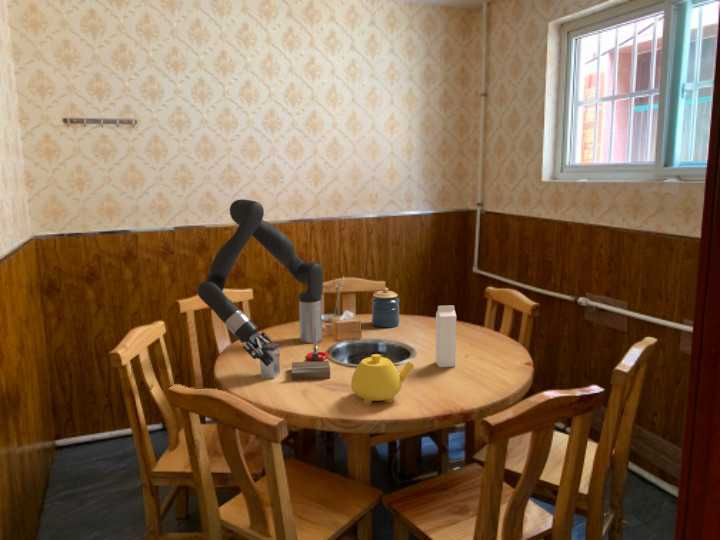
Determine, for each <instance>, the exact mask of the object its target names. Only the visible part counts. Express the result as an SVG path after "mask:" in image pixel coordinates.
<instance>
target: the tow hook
mask: <svg viewBox="0 0 720 540" xmlns="http://www.w3.org/2000/svg"><path fill="white" fill-rule="evenodd" d="M312 349H313V350H312V351H311V352H309V353H307V354H306V361H312V362H315V361H325V359H328V358H329V357H330V354H329V353H328V352H326V351H325V352H324V351H318V350H319V347H318V342H317V332H316V327H314V343H313V347H312ZM319 355H320V356H319Z"/></svg>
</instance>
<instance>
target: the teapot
mask: <svg viewBox="0 0 720 540" xmlns="http://www.w3.org/2000/svg"><path fill="white" fill-rule="evenodd" d="M394 364H395V363H393V362H392V361H391V360H390V359H389V358H387V357H384V356H382V355H381V354H378V353H375V354H373V353H372V354H371V355H370V356H369V357H365V358H363V359H362V360H361V361H360V362H359V363H358V365H357V367H356V368H355V371H354V372H353V374H352V378H351V383H350V387H351V390H352V391H353V393H354V394H355V395H356V396H357V397H359V398H361V399H362V400H363V402H362V404H363V403H364V404H363V405H371V404H373V401H377V402H378V401H384V403H387V404H391V403H394V402H393V401H394V399H393V398H394V397H395V396H397V394H399V392H400V391H401V388H402V383H403V382H404V380H405V379H406V378H407V376H408V375H409V374H410V373H411V371H413V369H414V368H415V364H413V363H412V362H411V361H407V362H406V363H405V365H404V366H403V367H402V369H401V370H400V371H398V370H397V368H396V366H395V365H394Z"/></svg>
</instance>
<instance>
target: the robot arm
mask: <svg viewBox="0 0 720 540" xmlns="http://www.w3.org/2000/svg"><path fill="white" fill-rule="evenodd" d="M264 214H265V210H264V207H263V205H262V203H260V202H258V201H255V200H250V199H246V198H245V199H244V198H242V199H236V200H234V201H233V202H232V203H231V205H230V208H229V215H230V217H231V219H232V221H233V222H234V223H235V224H237V225H238V227H237V229H236V231H235V232H234V233H233V235H232V236H231V237H230V238H229V239H228V240H227V241H226V242H225V243H224V244H223V245H222V246H221V247H220V248H219V249H218V251H217V252H216V254H215V256H214V258H213V259H212V262H211V265H210V266H209V269H208V271H209V273H208V275H207V277H206V279H205V280H204V281H203V282H200V284H199V285H198V286H197V295H198V297H199V298H200V300H201V301H202V302H203V303H204V304H206V306H208V308H210V309H211V310H212V311H213V312H214V313H215V314H216V315H217V317H218V318H219V319H220V321H222V323H224V325H225V326H226V328H227V329H228V330H229V331H230V333H232V334H233V336H234V337H236V338H237V340H238V341H240V343H242V344H244V343H245V344H244V345H242V348H243V349H244V350H245V351H246V353H248V355H249V356H250V357H251V358H253V360H259V361H260V360H261V361H262V362H263V363H264V364H265V365H266V366H268V365H269V364H270V363H271V361H270V360H269V358H268V357H267V356H266V355H265V354H264V353H263V351H262V346H261V345H263V344H264V343H275V342H274V341H273V340H272V339H271V338H270V336H268V334H267V333H266V332H265V331H262V332H261V333H259V332H258V329H259V328H258V326H257V325H256V324H255V322H253V321H252V320H251V318H250V317H249V316H247V315H246V313H244V312H243V311H242V310H241V309H240V308H239V307H238V306H237V305H236V304H235V303H234V302H233V301H232V300H231V299H229V297H227V295H226V294H225V293H224V288H225V285H226V282H227V279H228V278H229V275H230V274H231V271H232V269H233V268H234V265H235V264H236V261H237V259H238V257H239V255H240V254H241V252H242V251H243V249H244V248H245V246H246V245H247V244H248V242H249V240H250V239H251V237H253V238H254V239H255V240H256V241H257V242H258V243H259V244H260V245H261V246H262V247H263V248H265V250H266V251H267V252H268V253H269V254H270V255H272V256H273V257H274V258H275V259H276V260H277V261H278V262H279V263H280V264H281V265H282V266H283V267H285V269H286V270H287V271H288V272H289V273H290V275H291V276H292V277H293V278H294V279H295V281H296V282H298V283H299V284H303V285H304V284H305V285H306V287H307V288H306V291H303V292H300V293H299V295H298V305H299V336H300V337H299V338H300V339H299V341H300V342H302V343H307V344H308V343H309V344H311V343H312V344H314V327H316V332H317V343H318V342H319V343H320V341H322V340H323V326H322V325H323V321H322V320H323V319H322V317H323V314H322V295H323V292H324V290H323V289H324V272H323V267H322V266H321V264H320V263H318V262H310V261H306V260H305V261H304V260H303V259H301V258H300V257H299V256H298V255H297V254H296V251H295V246H294V243H293V242H292V240H291V238H289V237H288V236H287V235H286V233H284V232H283V231H281V230H280V229H279V228H277V227H275V226H274V225H272V224H271V223H269V222H267V221H265V220H264ZM263 354H264V355H263ZM280 356H281V355H280V353H279V357H280Z"/></svg>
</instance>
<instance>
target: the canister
mask: <svg viewBox="0 0 720 540" xmlns="http://www.w3.org/2000/svg"><path fill="white" fill-rule="evenodd" d="M371 302H372V306H371V324H373V325H375V326H378V327H377V328H380V327H391V328H396V327H399V325H400V306H399V302H400V298H398V294H397V293H396V292H395V291H392V290H389V288H388V287H383V288H382V290H379V291H376V292H375V293H373V298H372V299H371ZM373 325H372V326H373ZM375 326H374V327H375ZM395 326H396V327H395Z"/></svg>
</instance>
